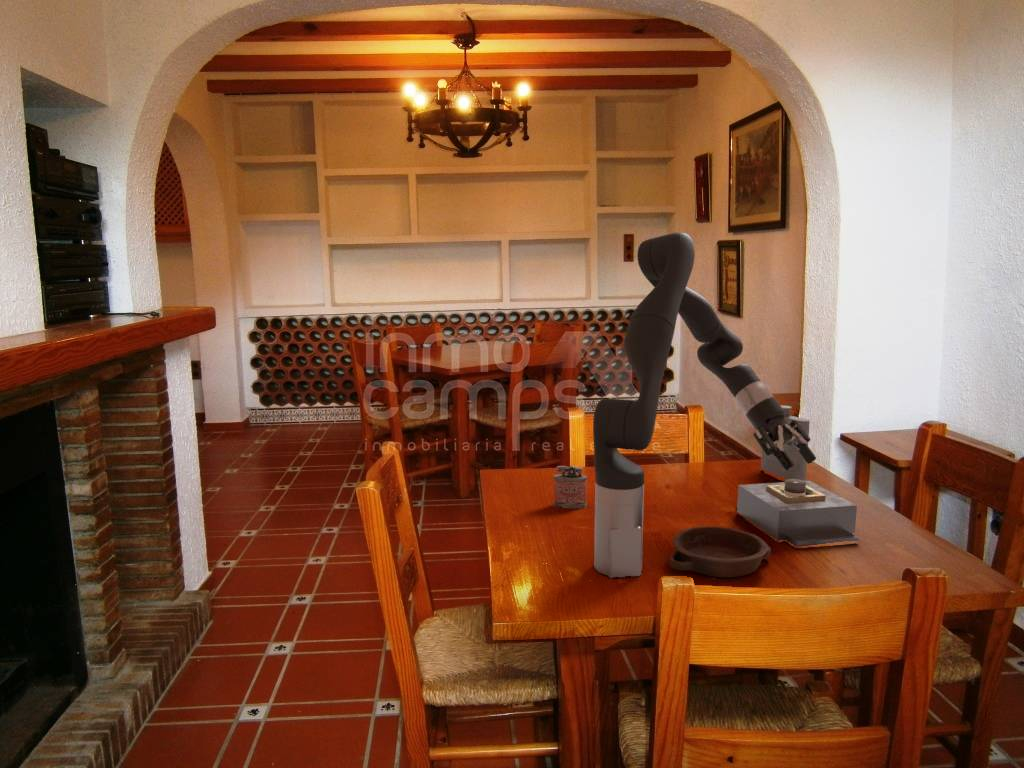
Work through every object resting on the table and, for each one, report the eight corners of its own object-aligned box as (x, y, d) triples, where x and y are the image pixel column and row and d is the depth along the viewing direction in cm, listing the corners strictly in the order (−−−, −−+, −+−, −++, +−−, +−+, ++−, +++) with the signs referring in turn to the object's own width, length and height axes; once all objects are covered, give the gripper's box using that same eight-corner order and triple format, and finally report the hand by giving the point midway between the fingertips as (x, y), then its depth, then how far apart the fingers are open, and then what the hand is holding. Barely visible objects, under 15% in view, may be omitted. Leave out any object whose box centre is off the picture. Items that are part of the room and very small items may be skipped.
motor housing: (866, 543, 154) (869, 507, 153) (787, 549, 151) (789, 512, 150) (798, 503, 180) (800, 471, 178) (729, 508, 177) (730, 475, 175)
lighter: (586, 503, 180) (587, 464, 179) (586, 508, 177) (587, 468, 175) (553, 503, 181) (554, 463, 179) (553, 507, 178) (553, 467, 176)
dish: (646, 556, 149) (647, 533, 148) (738, 542, 156) (739, 519, 156) (695, 592, 133) (696, 566, 132) (795, 574, 140) (796, 549, 139)
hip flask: (808, 485, 194) (813, 411, 190) (795, 487, 192) (800, 412, 189) (767, 469, 208) (771, 400, 205) (755, 471, 207) (759, 401, 204)
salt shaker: (807, 527, 164) (809, 484, 162) (788, 528, 163) (791, 485, 161) (796, 520, 168) (798, 478, 166) (778, 521, 167) (781, 479, 166)
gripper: (751, 399, 162) (795, 461, 155) (788, 392, 171) (831, 450, 164) (730, 419, 168) (771, 479, 161) (767, 411, 176) (808, 468, 169)
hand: (801, 464), depth 162 cm, fingers open, 8 cm apart
